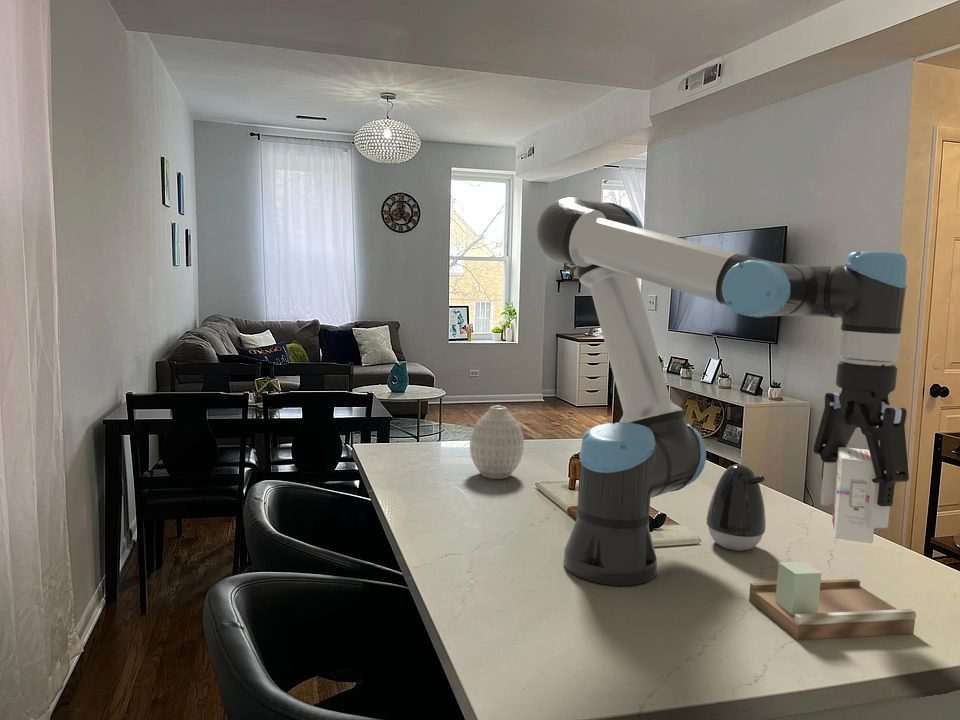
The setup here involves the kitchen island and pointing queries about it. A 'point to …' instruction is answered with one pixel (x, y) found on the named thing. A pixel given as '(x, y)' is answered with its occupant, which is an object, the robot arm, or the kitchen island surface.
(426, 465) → the kitchen island surface
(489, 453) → the vase
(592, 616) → the kitchen island surface
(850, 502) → the ink cartridge box
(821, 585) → the brown wooden tray
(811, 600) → the pale green block
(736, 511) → the pump dispenser
